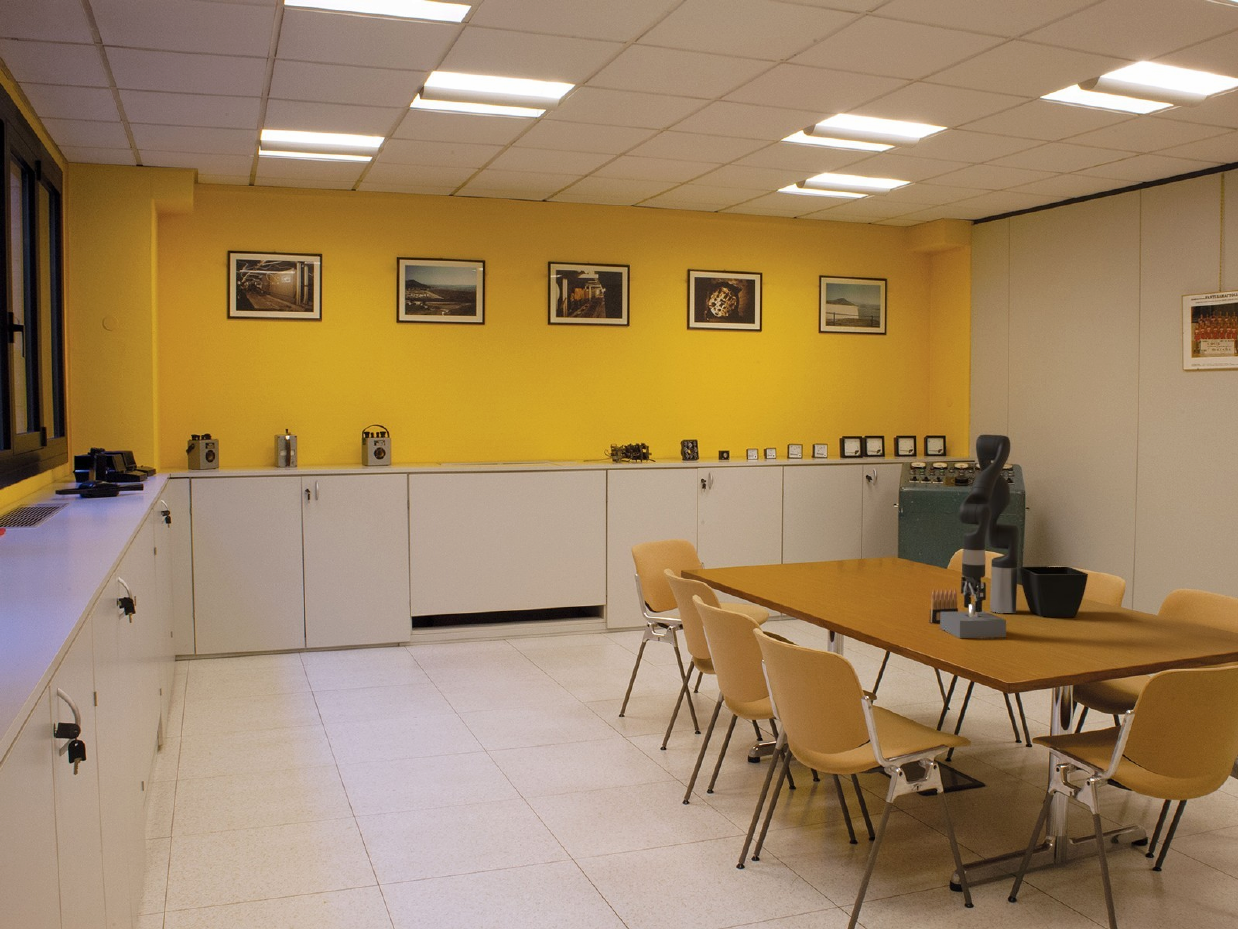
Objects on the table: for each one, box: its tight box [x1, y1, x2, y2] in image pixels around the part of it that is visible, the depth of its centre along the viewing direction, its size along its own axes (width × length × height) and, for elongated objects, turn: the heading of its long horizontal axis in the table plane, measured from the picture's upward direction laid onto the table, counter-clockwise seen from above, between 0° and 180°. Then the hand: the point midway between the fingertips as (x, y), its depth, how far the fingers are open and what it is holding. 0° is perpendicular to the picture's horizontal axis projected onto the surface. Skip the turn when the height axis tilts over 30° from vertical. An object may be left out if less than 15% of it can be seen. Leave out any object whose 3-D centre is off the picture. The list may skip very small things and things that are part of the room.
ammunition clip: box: [928, 588, 959, 624], centre depth 368 cm, size 11×2×12 cm, turn 105°
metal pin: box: [967, 603, 978, 617], centre depth 350 cm, size 3×3×10 cm
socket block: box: [939, 610, 1007, 639], centre depth 350 cm, size 16×16×6 cm
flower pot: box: [1018, 566, 1089, 618], centre depth 385 cm, size 19×19×17 cm
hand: (972, 609), depth 350 cm, fingers open, 8 cm apart
